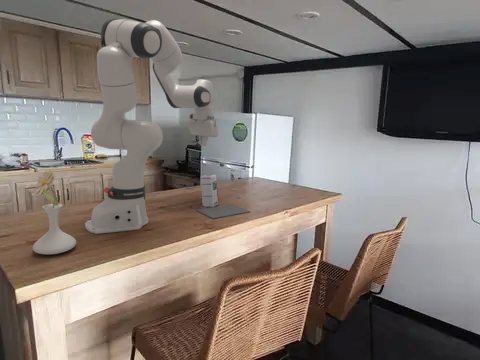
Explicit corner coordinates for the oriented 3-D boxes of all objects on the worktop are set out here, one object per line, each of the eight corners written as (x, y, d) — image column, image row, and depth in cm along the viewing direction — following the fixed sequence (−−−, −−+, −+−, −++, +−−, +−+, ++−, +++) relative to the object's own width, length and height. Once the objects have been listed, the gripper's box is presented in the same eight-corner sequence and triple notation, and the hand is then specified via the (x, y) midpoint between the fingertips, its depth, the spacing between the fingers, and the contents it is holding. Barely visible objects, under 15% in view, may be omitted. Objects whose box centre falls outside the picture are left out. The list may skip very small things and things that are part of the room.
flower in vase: (33, 246, 98) (26, 165, 93) (75, 240, 103) (70, 164, 99) (32, 263, 87) (24, 173, 82) (79, 256, 93) (74, 171, 88)
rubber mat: (212, 219, 131) (212, 218, 131) (195, 210, 142) (195, 209, 142) (250, 212, 143) (250, 211, 143) (232, 204, 154) (232, 203, 154)
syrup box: (213, 207, 147) (211, 176, 145) (202, 206, 149) (200, 175, 147) (218, 204, 153) (216, 174, 150) (207, 203, 154) (205, 174, 152)
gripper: (221, 116, 143) (220, 147, 146) (198, 115, 159) (198, 143, 162) (209, 116, 139) (209, 147, 142) (187, 115, 155) (187, 143, 158)
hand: (203, 145), depth 152 cm, fingers closed
